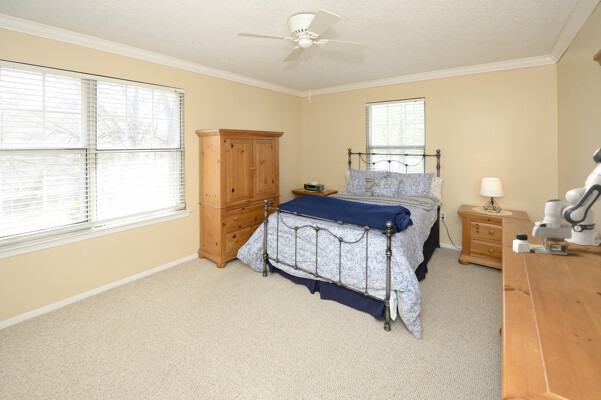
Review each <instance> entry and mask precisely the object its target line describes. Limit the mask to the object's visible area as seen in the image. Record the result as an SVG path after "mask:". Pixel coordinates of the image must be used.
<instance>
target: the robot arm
mask: <svg viewBox="0 0 601 400" xmlns="http://www.w3.org/2000/svg"><path fill="white" fill-rule="evenodd" d="M592 160H593V161H594V162H595V164H596V165H597V164H598V165H597V166H595V168H594V169H593V170H592V171H591V173H590V174H589V175H588V176H587V178H586V180H585V182H584V186H583V187H578V188H577V187H576V188H573V189H570V190H568V191H567V192H566V193H565V200H566V202H565V201H563V200H562V199H559V198H558V199H555V198H554V199H549V200H547V201H546V202H545V205H544V211H543V213H544V218H543V220H540V221H536V222H534V227H533V228H532V233H531V234H532V236H533V238H537V239H539V240H540V241H541V242H540V244H541V245H545V240H544V239H546V237H551V238H564V241H566V243H567V242H568V243H574V244H576V245H580V246H595V247H596V246H598V247H599V245H601V239H600V238H598V237H599V232H598V231H596V230H595V227H596V223H595V222H594V219H595V218H594V217H595V213H594V211H593V210H592V209H591V207H593V205H594V204H595V203H597V202H599V201H601V147H599V148H598V149H597V150H595V151H594V153H593V157H592ZM563 219H564V220H565V221H566V222H567V223H569V224H564V223H563V224H562V220H563Z"/></svg>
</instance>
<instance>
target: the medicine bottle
mask: <svg viewBox="0 0 601 400" xmlns="http://www.w3.org/2000/svg"><path fill="white" fill-rule="evenodd" d="M528 237H529V236H528V234H525V233H517V234H516V238H515V240H514V239H513V240H512V251H513V252H515V253H517V254H521V253H530V252H531V248H530V244H531V243H530V241H528Z"/></svg>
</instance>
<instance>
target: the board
mask: <svg viewBox="0 0 601 400" xmlns="http://www.w3.org/2000/svg"><path fill="white" fill-rule="evenodd" d="M530 250H532V251H533V252H534V253H535V254H545V255H562V256H563V255H564V256H566V255H568V253H564V252H563V251H562V250H561V246H559V245H556V249H553V248H552V253H551V252H548V251H547V250H546V249H545V244H531V243H530Z"/></svg>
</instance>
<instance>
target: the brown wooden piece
mask: <svg viewBox="0 0 601 400" xmlns="http://www.w3.org/2000/svg"><path fill="white" fill-rule="evenodd" d="M545 239H546V247H545V249H546V250H547V251H548V252H551V253H552V245H556V246H560V248H561V250H562V251H563V252H564V253H567V254H568V253H569V244H568V243H567V242H565V240H564V238H551V237H546V238H545Z"/></svg>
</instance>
